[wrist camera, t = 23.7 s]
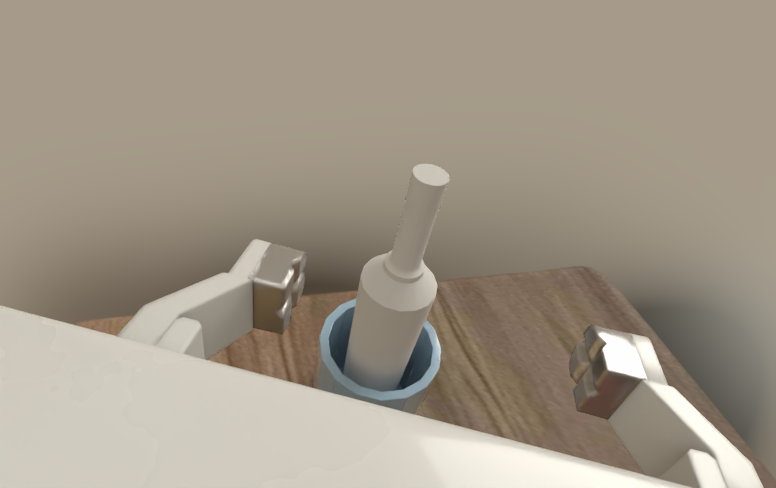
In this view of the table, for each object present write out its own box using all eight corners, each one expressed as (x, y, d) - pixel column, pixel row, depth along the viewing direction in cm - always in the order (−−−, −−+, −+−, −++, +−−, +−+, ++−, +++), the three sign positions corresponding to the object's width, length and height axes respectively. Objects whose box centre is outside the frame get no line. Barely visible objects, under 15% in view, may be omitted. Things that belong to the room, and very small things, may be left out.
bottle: (327, 385, 42) (369, 150, 25) (378, 372, 44) (449, 146, 27) (344, 439, 38) (407, 209, 22) (400, 421, 40) (495, 199, 24)
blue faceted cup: (376, 482, 37) (400, 426, 30) (288, 414, 40) (293, 349, 33) (447, 371, 46) (479, 309, 39) (372, 322, 49) (389, 256, 42)
